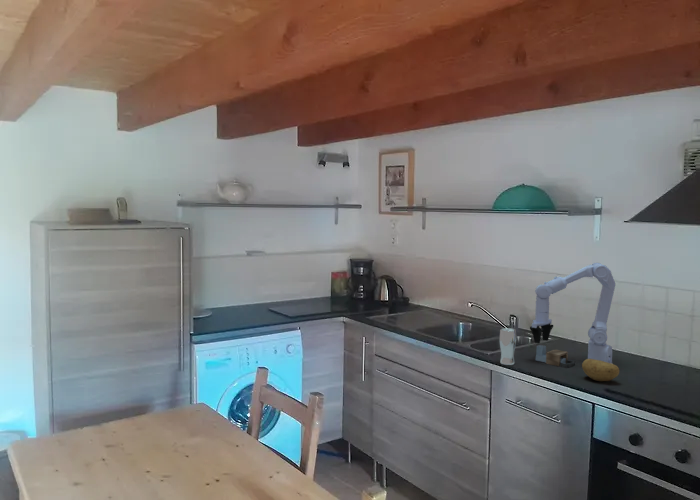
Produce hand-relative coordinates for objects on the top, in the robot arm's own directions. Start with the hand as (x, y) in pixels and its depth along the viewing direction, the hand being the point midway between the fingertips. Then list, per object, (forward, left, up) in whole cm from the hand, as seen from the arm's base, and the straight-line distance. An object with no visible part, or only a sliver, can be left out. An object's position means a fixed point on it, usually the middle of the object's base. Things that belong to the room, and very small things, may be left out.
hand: (541, 341), depth 259 cm
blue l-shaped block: (-5, 0, -8) cm, 10 cm away
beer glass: (+7, +16, -9) cm, 20 cm away
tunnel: (-8, 0, -8) cm, 11 cm away
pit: (-13, 0, -8) cm, 15 cm away
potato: (-32, +12, -9) cm, 35 cm away
